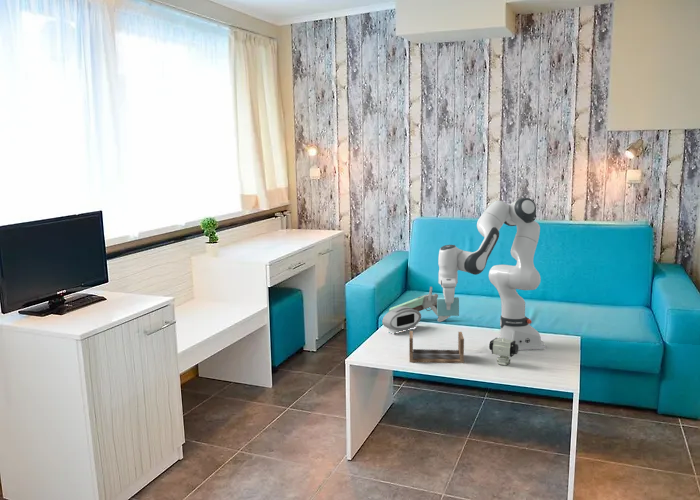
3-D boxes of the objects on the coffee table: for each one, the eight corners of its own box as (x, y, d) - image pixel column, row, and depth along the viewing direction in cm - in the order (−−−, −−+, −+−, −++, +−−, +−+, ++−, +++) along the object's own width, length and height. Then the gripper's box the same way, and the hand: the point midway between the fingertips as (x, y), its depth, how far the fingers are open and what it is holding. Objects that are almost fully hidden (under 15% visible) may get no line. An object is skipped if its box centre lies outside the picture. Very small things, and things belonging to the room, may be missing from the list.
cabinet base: (461, 354, 277) (461, 331, 275) (463, 363, 265) (463, 339, 263) (409, 353, 279) (409, 331, 278) (409, 362, 267) (409, 338, 266)
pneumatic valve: (492, 360, 268) (493, 334, 266) (518, 365, 261) (518, 338, 260) (487, 364, 263) (488, 337, 262) (513, 368, 257) (514, 341, 255)
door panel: (458, 313, 283) (458, 297, 282) (459, 315, 280) (458, 299, 279) (437, 314, 284) (437, 297, 283) (437, 315, 281) (437, 299, 280)
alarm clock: (390, 335, 310) (390, 311, 308) (382, 333, 314) (382, 309, 313) (421, 327, 324) (421, 305, 322) (413, 325, 329) (413, 303, 327)
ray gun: (452, 318, 333) (438, 285, 332) (398, 337, 339) (385, 305, 338) (451, 315, 340) (438, 283, 339) (399, 334, 346) (386, 302, 345)
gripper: (440, 275, 290) (440, 303, 292) (442, 284, 270) (442, 313, 272) (453, 275, 289) (453, 303, 292) (456, 284, 269) (456, 313, 271)
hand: (448, 308), depth 282 cm, fingers closed on door panel, 3 cm apart
